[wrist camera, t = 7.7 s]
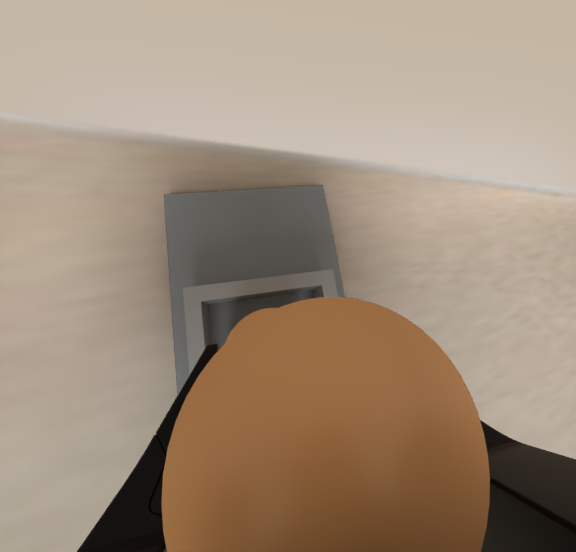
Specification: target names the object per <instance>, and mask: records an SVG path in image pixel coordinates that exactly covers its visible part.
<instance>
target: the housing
mask: <svg viewBox="0 0 576 552" xmlns="http://www.w3.org/2000/svg"><path fill="white" fill-rule="evenodd" d="M164 203H165V218H166V233H167V248H168V263H169V278H170V292H171V307H172V322H173V337H174V352H175V366H176V381H177V396H178V394H179V392H180V391H181V389H182V387H183V385H184V384H185V382H186V380H187V379H188V377H189V375H190V373H191V372H192V370H193V368H194V367H195V365H196V363H197V361H198V360H199V358H200V356H201V355H202V353H203V351H204V349H205V348H206V346H207V345H209V344H215V343H217V344H218V345H219V348H221V347H222V346H223V345H224V344H225V342H226V340H227V338H228V336H229V334H230V332H231V331H232V330H233V328H234V327H235V326H236V325H237V324H238V323H239V321H241V320H242V319H243V318H244V317H246V316H247V315H249V314H251V313H253V312H255V311H258V310H261V309H265V308H279V307H281V306H284V305H288V304H291V303H294V302H298V301H301V300H307V299H313V298H319V297H343V298H345V296H344V291H343V286H342V281H341V276H340V271H339V265H338V260H337V255H336V250H335V245H334V240H333V235H332V230H331V225H330V220H329V215H328V210H327V205H326V199H325V194H324V189H323V185H314V186H297V187H280V188H263V189H246V190H229V191H212V192H195V193H178V194H164Z"/></svg>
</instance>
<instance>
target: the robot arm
mask: <svg viewBox="0 0 576 552" xmlns="http://www.w3.org/2000/svg"><path fill="white" fill-rule="evenodd" d="M219 349H220V348H219V345H218V344H217V343H215V344H209V345H207V346H206V348H205V349H204V351H203V353H202V355H201V356H200V358H199V360H198V361H197V363H196V365H195V367H194V368H193V370H192V372H191V373H190V375H189V377H188V379H187V380H186V382H185V384H184V385H183V387H182V389H181V391H180V392H179V394H178V396H177V398H176V399H175V401H174V403H173V404H172V406H171V408H170V410H169V411H168V413H167V415H166V416H165V418H164V420H163V422H162V423H161V425H160V427H159V428H158V430H157V432H156V434H157V435H154V437H153V439H152V440H151V442H150V444H149V445H148V447H147V449H146V450H145V452H144V454H143V455H142V457H141V459H140V460H139V462H138V463H137V465H136V467H135V468H134V470H133V471H132V473H131V474H130V476H129V477H128V479H127V480H126V482H125V483H124V485H123V486H122V488H121V489H120V491H119V492H118V493H117V495H116V496H115V498H114V499H113V501H112V502H111V503H110V505H109V506H108V508H107V509H106V511H105V512H104V514H103V515H102V516H101V518H100V519H99V521H98V522H97V524H96V525H95V526H94V528H93V529H92V531H91V532H90V534H89V535H88V537H87V538H86V539H85V541H84V542H83V544H82V545H81V547H80V548H79V549H78V551H77V552H167V549H166V544H165V538H164V533H163V520H162V505H161V502H162V484H163V472H164V467H165V461H166V455H167V449H168V445H169V442H170V439H171V435H172V432H173V429H174V425H175V422H176V419H177V417H178V415H179V412H180V410H181V408H182V405H183V403H184V401H185V399H186V397H187V395H188V393H189V391H190V390H191V388H192V386H193V384H194V383H195V381H196V379H197V377H198V376H199V374H200V373H201V372H202V370H203V369H204V368H205V366H206V365H207V364H208V362H209V361H210V360H211V358H212V357H213V356H214V355H215V354H216V353H217V352H218V351H219ZM480 422H481V425H482V429H483V432H484V437H485V442H486V448H487V453H488V462H489V474H490V501H489V511H488V519H487V527H486V532H485V536H484V541H483V545H482V549H481V552H576V459H572V458H569V457H566V456H562V455H559V454H556V453H553V452H549V451H546V450H543V449H539V448H536V447H533V446H529V445H526V444H523V443H521V442H518V441H516V440H513V439H511V438H509V437H507V436H505V435H503V434H501V433H500V432H498V431H497V430H495V429H493V428H492V427H490V426H489V425H487V424H485V423H484V422H482V421H481V420H480Z"/></svg>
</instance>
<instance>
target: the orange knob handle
mask: <svg viewBox="0 0 576 552" xmlns="http://www.w3.org/2000/svg"><path fill="white" fill-rule="evenodd" d="M489 501H490V474H489V462H488V453H487V448H486V442H485V437H484V432H483V429H482V425H481V422H480V418H479V415H478V412H477V409H476V407H475V404H474V402H473V399H472V397H471V394H470V392H469V390H468V388H467V386H466V385H465V383H464V381H463V379H462V377H461V375H460V373H459V372H458V371H457V369H456V368H455V366H454V365H453V363H452V362H451V360H450V359H449V357H448V356H447V355H446V354H445V353H444V352H443V350H442V349H441V348H440V347H439V346H438V345H437V343H436V342H435V341H434V340H432V339H431V338H430V337H429V336H428V335H427V334H426V333H425V332H424V331H423V330H422V329H420V328H419V327H417V326H416V325H415V324H413V323H412V322H411V321H409V320H408V319H406V318H404V317H403V316H401V315H399V314H397V313H395V312H393V311H392V310H389V309H387V308H384V307H382V306H379V305H377V304H374V303H370V302H366V301H362V300H358V299H352V298H343V297H319V298H313V299H307V300H301V301H298V302H294V303H291V304H288V305H284V306H281V307H279V308H265V309H261V310H258V311H255V312H253V313H251V314H249V315H247V316H246V317H244V318H243V319H242V320H241V321H239V323H238V324H237V325H236V326H235V327H234V328H233V330H232V331H231V332H230V334H229V336H228V338H227V340H226V342H225V344H224V345H223V346H222V347H221V348H220V349H219V351H218V352H217V353H216V354H215V355H214V356H213V357H212V358H211V360H210V361H209V362H208V364H207V365H206V366H205V368H204V369H203V370H202V372H201V373H200V374H199V376H198V377H197V379H196V381H195V383H194V384H193V386H192V388H191V390H190V391H189V393H188V395H187V397H186V399H185V401H184V403H183V405H182V408H181V410H180V412H179V415H178V417H177V419H176V422H175V425H174V429H173V432H172V435H171V439H170V442H169V445H168V449H167V455H166V461H165V467H164V472H163V484H162V502H161V505H162V520H163V533H164V538H165V544H166V549H167V552H481V549H482V545H483V541H484V536H485V532H486V527H487V519H488V511H489Z"/></svg>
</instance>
